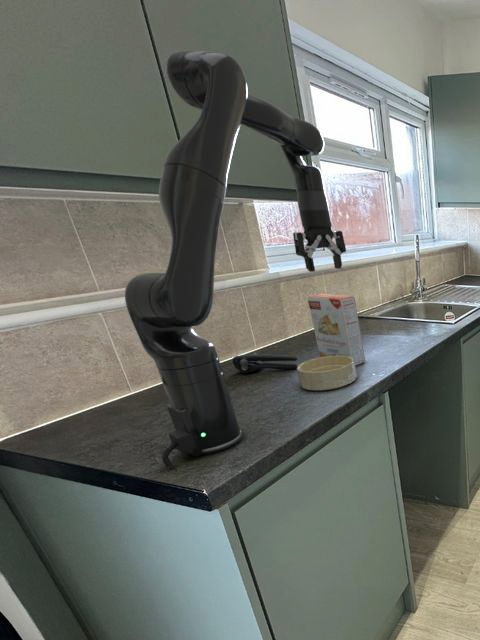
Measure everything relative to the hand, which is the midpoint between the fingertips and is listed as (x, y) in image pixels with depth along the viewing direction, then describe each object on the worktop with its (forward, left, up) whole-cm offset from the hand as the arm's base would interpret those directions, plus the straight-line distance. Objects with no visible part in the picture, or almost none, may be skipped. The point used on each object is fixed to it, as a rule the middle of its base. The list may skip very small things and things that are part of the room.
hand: (325, 269), depth 120 cm
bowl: (-13, -12, -28) cm, 33 cm away
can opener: (-16, +14, -28) cm, 36 cm away
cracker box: (0, 0, -28) cm, 29 cm away
